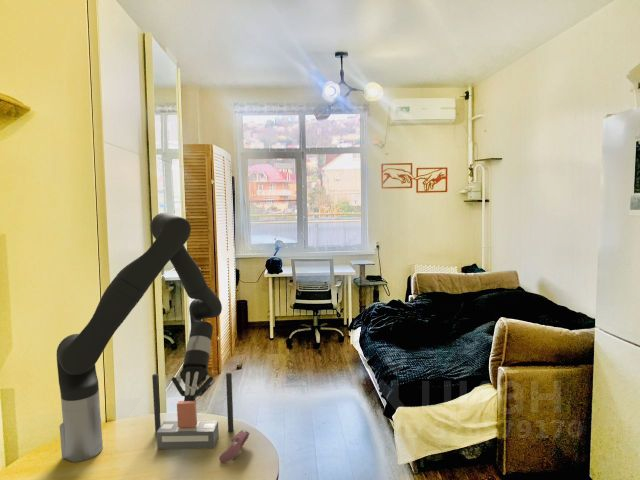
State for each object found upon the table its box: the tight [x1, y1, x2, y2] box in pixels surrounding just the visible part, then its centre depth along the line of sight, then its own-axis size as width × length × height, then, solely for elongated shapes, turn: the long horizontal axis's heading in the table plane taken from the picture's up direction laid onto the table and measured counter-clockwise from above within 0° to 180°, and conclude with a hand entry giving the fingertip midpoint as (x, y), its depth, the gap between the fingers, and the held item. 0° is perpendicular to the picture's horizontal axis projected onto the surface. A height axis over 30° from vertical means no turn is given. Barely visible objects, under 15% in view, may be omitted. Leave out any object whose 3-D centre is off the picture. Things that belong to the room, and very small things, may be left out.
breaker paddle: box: [176, 400, 198, 427], centre depth 125 cm, size 5×2×7 cm, turn 90°
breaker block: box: [155, 420, 220, 450], centre depth 126 cm, size 16×6×5 cm, turn 90°
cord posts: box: [151, 372, 235, 434], centre depth 132 cm, size 24×2×18 cm, turn 90°
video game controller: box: [218, 429, 251, 464], centre depth 121 cm, size 10×5×7 cm, turn 169°
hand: (188, 409), depth 127 cm, fingers closed
